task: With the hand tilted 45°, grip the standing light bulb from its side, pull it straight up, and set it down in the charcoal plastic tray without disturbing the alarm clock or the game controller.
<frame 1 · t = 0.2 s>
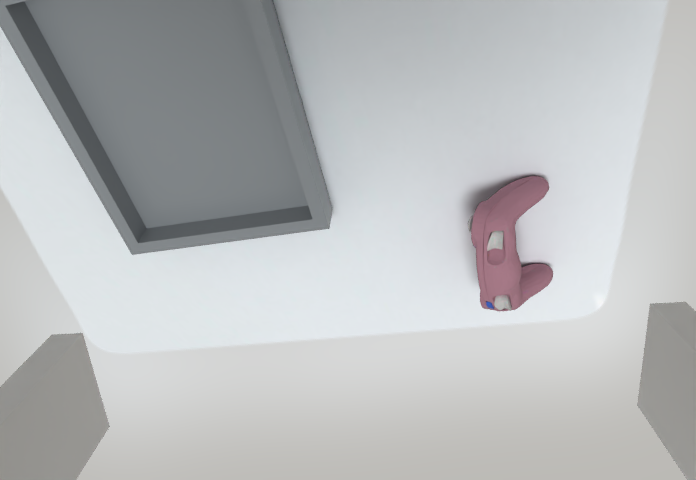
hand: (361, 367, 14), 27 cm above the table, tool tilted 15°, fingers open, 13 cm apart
tray: (186, 107, 40), on the table
video game controller: (508, 227, 44), on the table
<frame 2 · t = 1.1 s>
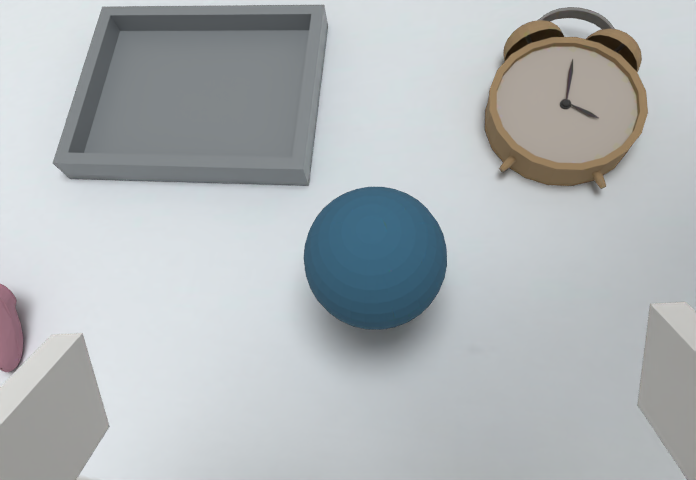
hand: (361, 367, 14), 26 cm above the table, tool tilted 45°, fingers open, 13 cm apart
light bulb: (380, 297, 41), on the table
tray: (203, 99, 49), on the table
alarm clock: (557, 109, 46), on the table
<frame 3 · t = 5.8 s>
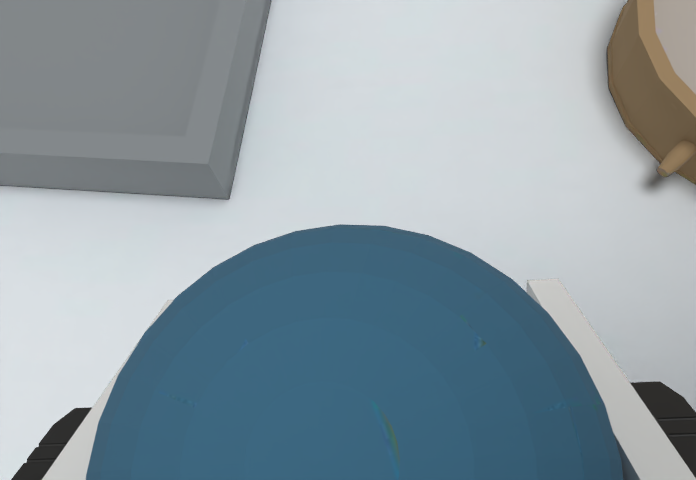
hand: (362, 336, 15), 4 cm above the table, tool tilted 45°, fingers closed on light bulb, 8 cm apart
light bulb: (375, 478, 17), on the table, touching gripper
tray: (43, 23, 25), on the table
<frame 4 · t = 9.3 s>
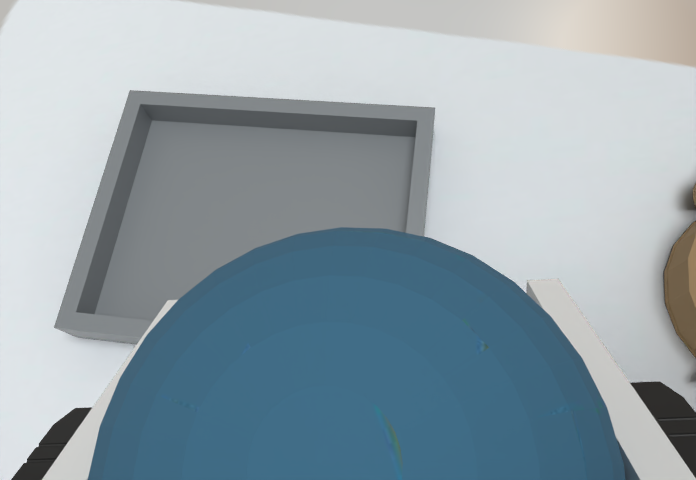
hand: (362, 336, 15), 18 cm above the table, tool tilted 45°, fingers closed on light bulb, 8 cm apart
light bulb: (376, 479, 17), point 14 cm above the table, touching gripper
tray: (262, 229, 36), on the table
when the fingers open (6 cm above the table, at t = 12.9 s): light bulb drops 2 cm, resting on tray.
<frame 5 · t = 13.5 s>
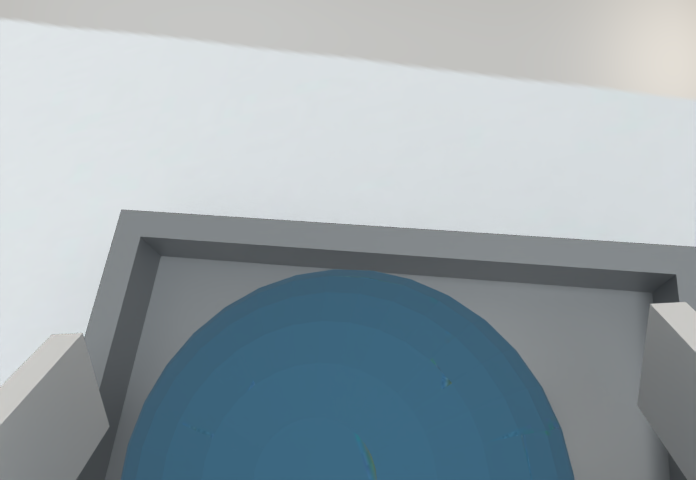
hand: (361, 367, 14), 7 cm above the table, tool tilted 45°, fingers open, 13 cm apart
tray: (377, 478, 19), on the table
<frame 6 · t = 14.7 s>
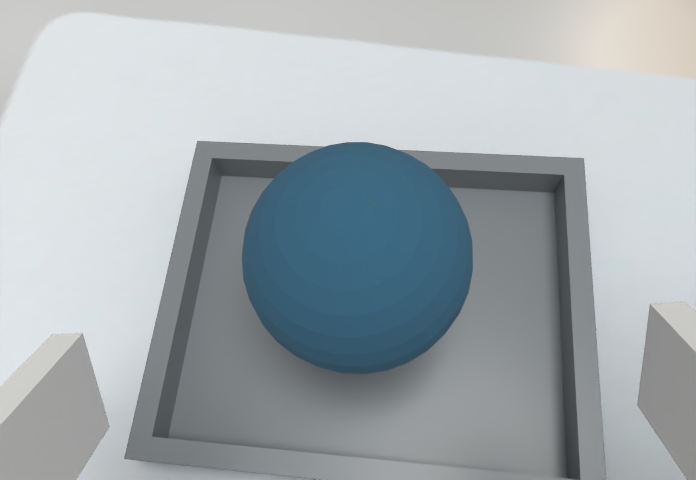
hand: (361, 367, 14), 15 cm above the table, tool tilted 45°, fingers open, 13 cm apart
light bulb: (370, 312, 29), resting on tray
tray: (373, 312, 29), on the table
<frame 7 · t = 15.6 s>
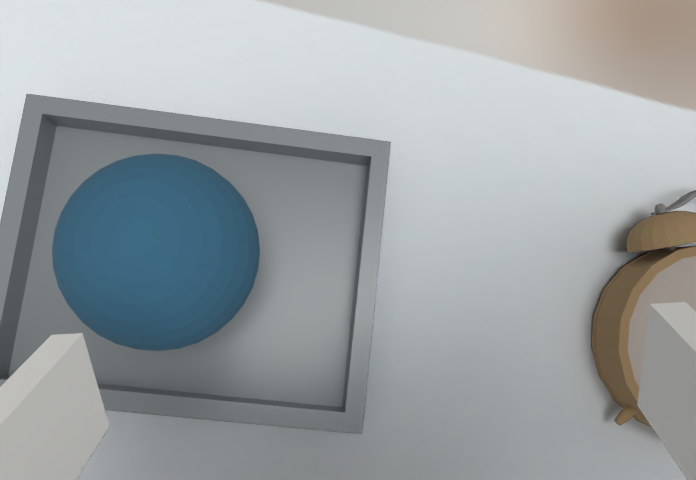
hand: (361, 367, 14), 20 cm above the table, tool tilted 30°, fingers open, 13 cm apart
light bulb: (195, 267, 33), resting on tray
tray: (199, 265, 33), on the table
alarm clock: (678, 313, 36), on the table
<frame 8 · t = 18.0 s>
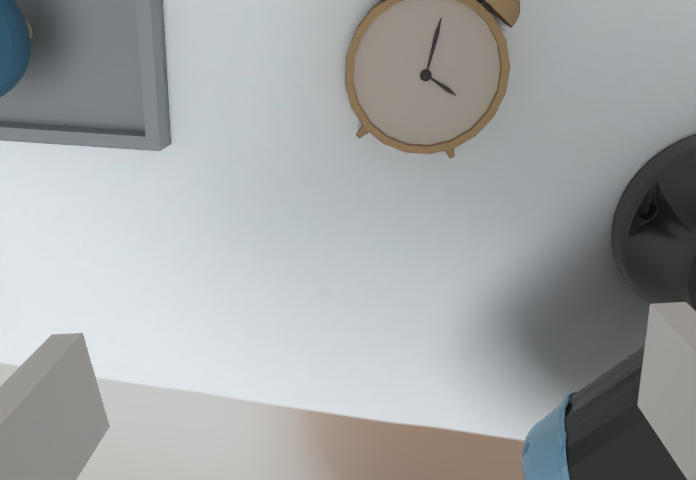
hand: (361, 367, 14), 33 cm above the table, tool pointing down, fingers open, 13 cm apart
light bulb: (25, 29, 42), resting on tray
tray: (29, 27, 42), on the table
alarm clock: (428, 43, 42), on the table
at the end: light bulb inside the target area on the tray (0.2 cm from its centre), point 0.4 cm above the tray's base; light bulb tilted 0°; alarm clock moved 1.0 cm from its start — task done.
